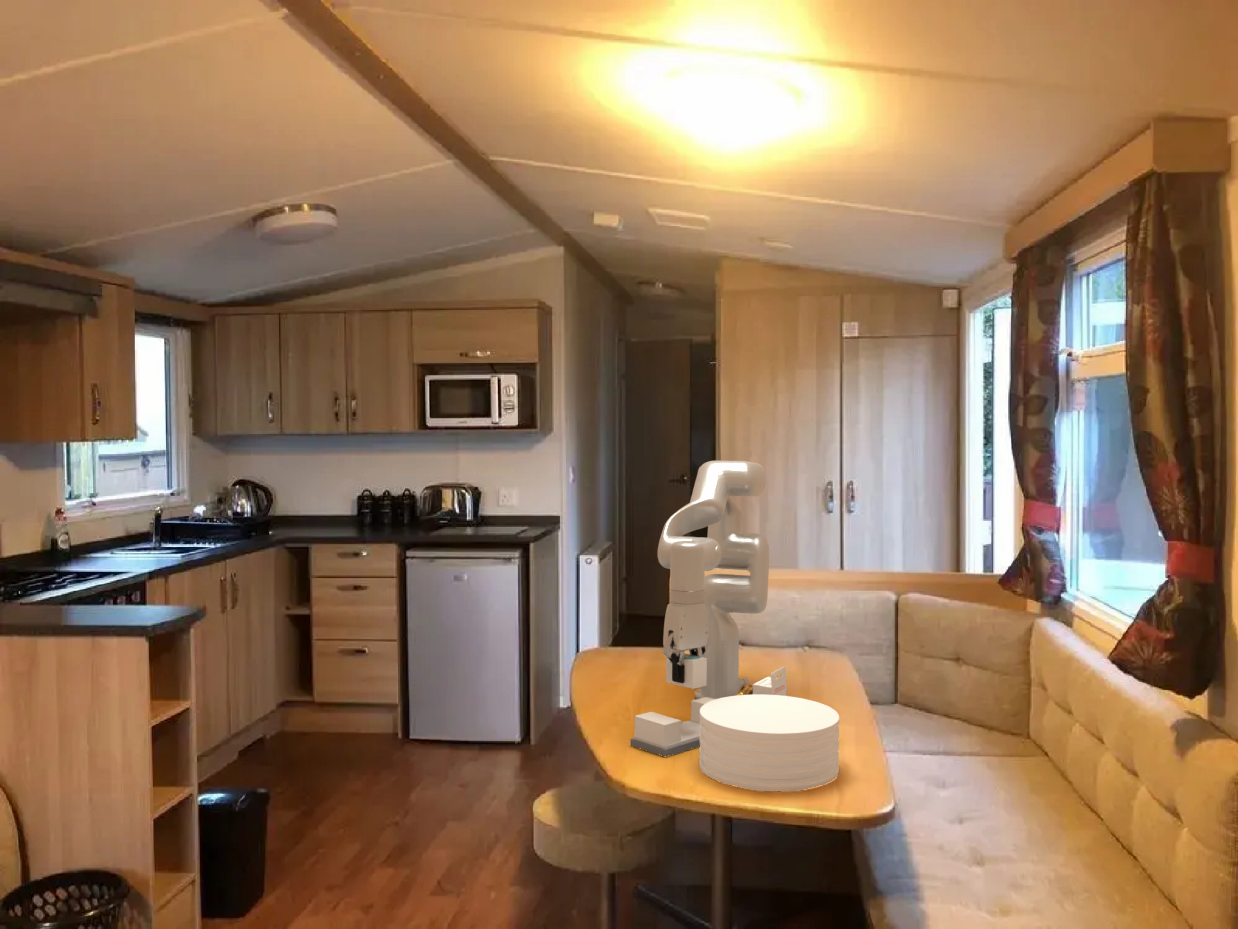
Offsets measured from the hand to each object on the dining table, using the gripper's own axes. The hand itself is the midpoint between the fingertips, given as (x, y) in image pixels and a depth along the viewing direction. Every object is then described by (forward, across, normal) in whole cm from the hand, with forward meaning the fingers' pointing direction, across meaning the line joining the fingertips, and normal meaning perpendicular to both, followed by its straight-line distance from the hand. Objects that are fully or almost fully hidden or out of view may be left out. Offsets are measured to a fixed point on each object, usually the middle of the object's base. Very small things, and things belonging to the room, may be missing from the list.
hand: (686, 679), depth 225 cm
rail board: (+14, 0, 0) cm, 14 cm away
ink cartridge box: (+14, -18, +9) cm, 25 cm away
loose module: (+1, 0, 0) cm, 1 cm away
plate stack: (+14, +1, +23) cm, 27 cm away
